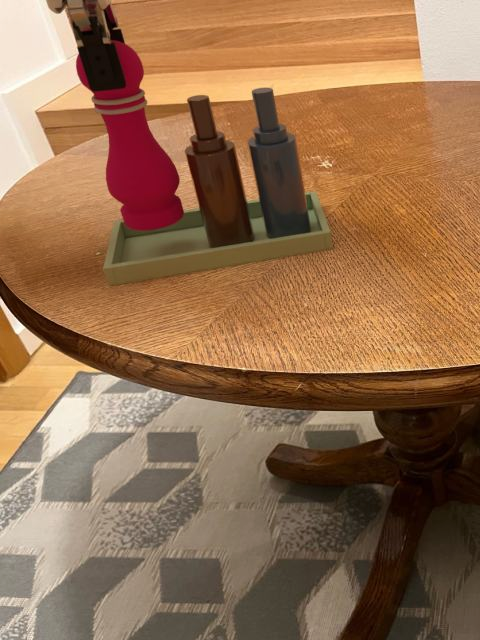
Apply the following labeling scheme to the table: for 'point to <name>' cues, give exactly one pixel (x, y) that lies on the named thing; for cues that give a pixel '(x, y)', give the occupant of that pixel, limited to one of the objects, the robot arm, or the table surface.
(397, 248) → the table surface
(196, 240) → the tray
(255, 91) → the blue bottle
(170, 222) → the pepper mill
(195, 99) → the brown bottle
